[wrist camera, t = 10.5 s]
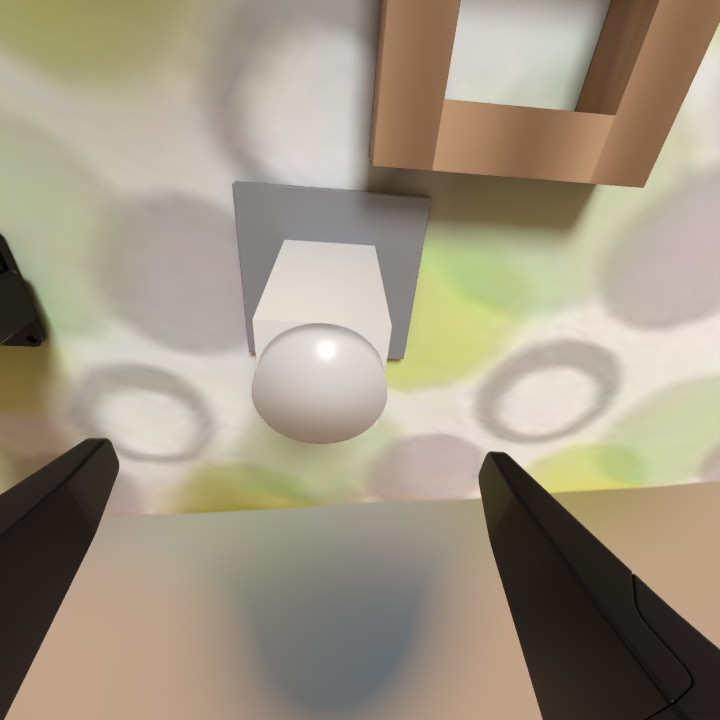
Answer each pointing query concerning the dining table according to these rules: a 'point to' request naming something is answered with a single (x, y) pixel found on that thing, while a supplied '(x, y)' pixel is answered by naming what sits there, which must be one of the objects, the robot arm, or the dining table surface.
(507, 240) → the dining table surface
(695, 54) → the housing
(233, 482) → the dining table surface
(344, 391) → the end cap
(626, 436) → the dining table surface
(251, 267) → the mat
